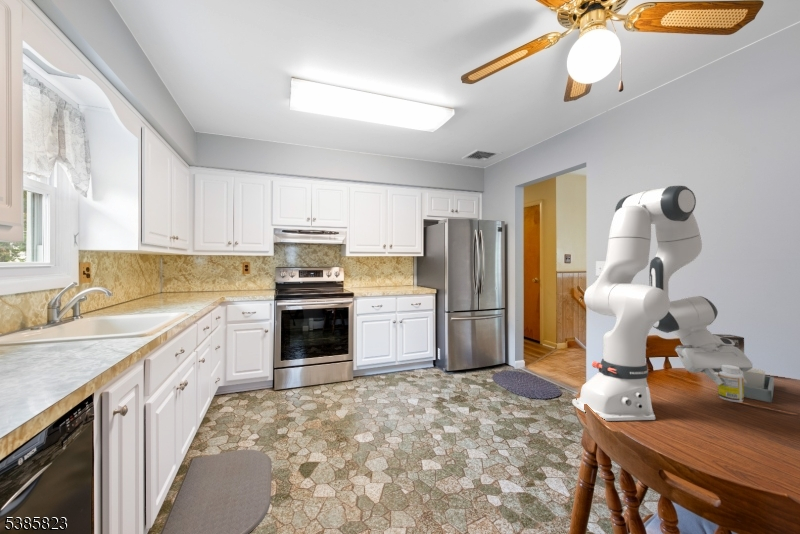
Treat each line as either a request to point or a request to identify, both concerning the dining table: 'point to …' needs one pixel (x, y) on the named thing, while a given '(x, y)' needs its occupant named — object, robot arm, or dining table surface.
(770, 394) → the tray
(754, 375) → the off-white plain cube block
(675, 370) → the dining table surface
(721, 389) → the supplement bottle
